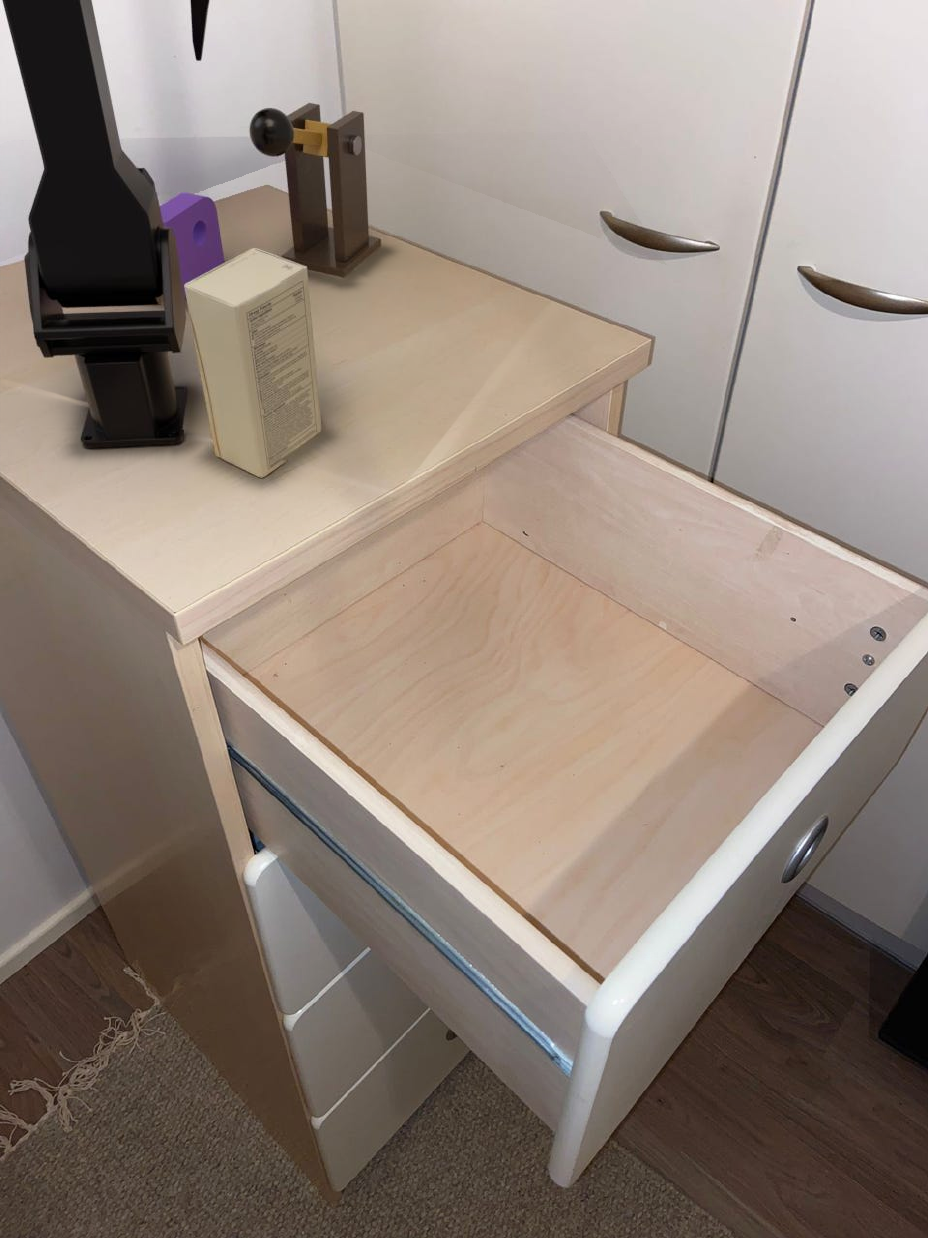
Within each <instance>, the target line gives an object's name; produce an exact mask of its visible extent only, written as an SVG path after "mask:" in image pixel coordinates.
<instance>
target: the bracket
mask: <svg viewBox="0 0 928 1238" xmlns="http://www.w3.org/2000/svg"><path fill="white" fill-rule="evenodd" d="M159 206H160V211H161V215H162V220H163V225H164V227H171V228H172V230H173V233H174V236H175V240H176V245H177V252H178V259H179V267H180V274H181V282H182V290H183V297H184V299H186V294H185V288H184V285H185V284H186V283H188V282H190V281H192V280H194V279H195V278H197V277H199V276H201V275H203V274H205V273H207V272H209V271H211V270H213V269H214V268H216V267H218V266H220V265H221V264H223V263H226V261H225V257H224V250H223V242H222V236H221V230H220V222H219V216H218V210H217V206H216V203H215V201H214V200H213V199H212V198H211V197H209V196H205V195H199V194H194V193H190V192H181V193H179V194H176V196H174V197H172V198H171V199H169V200H168V201H166V202H165V203H163V204H161V205H159ZM163 299H164V297H163Z"/></svg>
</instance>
